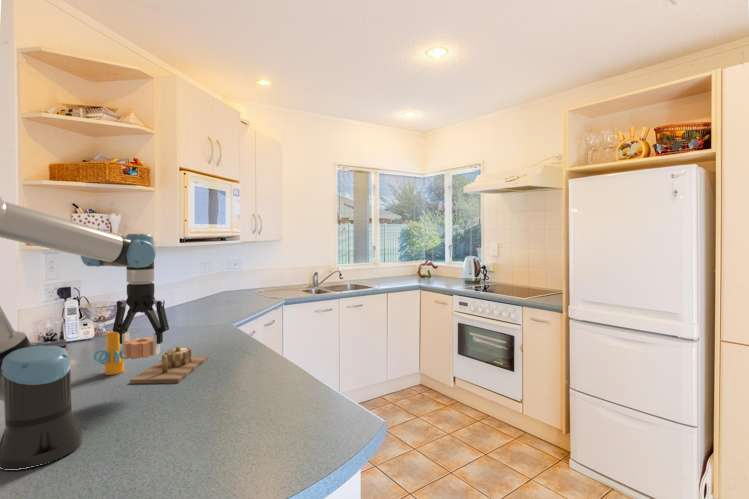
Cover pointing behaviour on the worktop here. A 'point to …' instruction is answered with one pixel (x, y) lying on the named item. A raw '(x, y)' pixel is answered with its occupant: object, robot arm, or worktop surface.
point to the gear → (139, 348)
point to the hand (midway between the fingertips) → (141, 353)
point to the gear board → (170, 367)
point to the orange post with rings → (112, 354)
